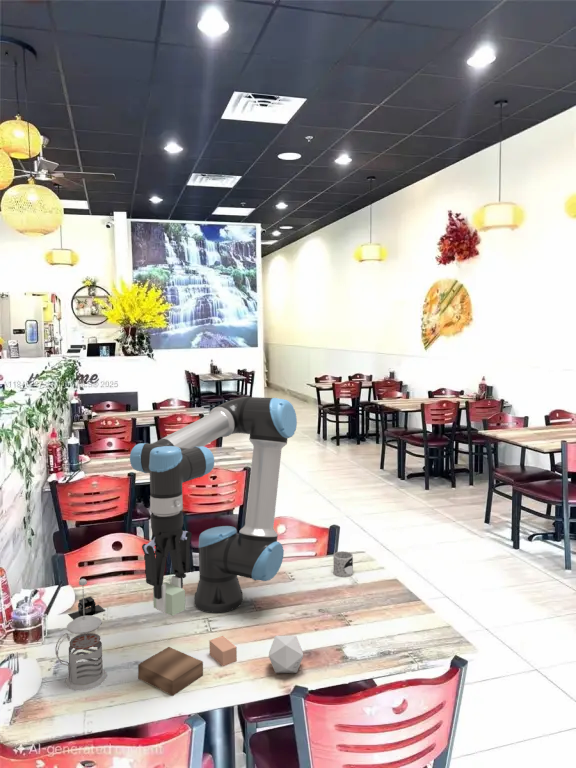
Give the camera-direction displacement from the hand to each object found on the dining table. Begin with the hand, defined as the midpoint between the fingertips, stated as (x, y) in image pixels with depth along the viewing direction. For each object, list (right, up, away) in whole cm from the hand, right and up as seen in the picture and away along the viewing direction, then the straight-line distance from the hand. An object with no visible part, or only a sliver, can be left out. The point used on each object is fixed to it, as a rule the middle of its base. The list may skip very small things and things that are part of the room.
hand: (169, 606), depth 144 cm
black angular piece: (-32, -16, +36) cm, 50 cm away
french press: (-21, -18, +1) cm, 28 cm away
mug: (+49, -12, +65) cm, 82 cm away
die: (+28, -18, +5) cm, 34 cm away
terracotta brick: (+12, -17, +10) cm, 23 cm away
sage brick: (0, -1, 0) cm, 1 cm away
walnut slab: (0, -18, +2) cm, 18 cm away
